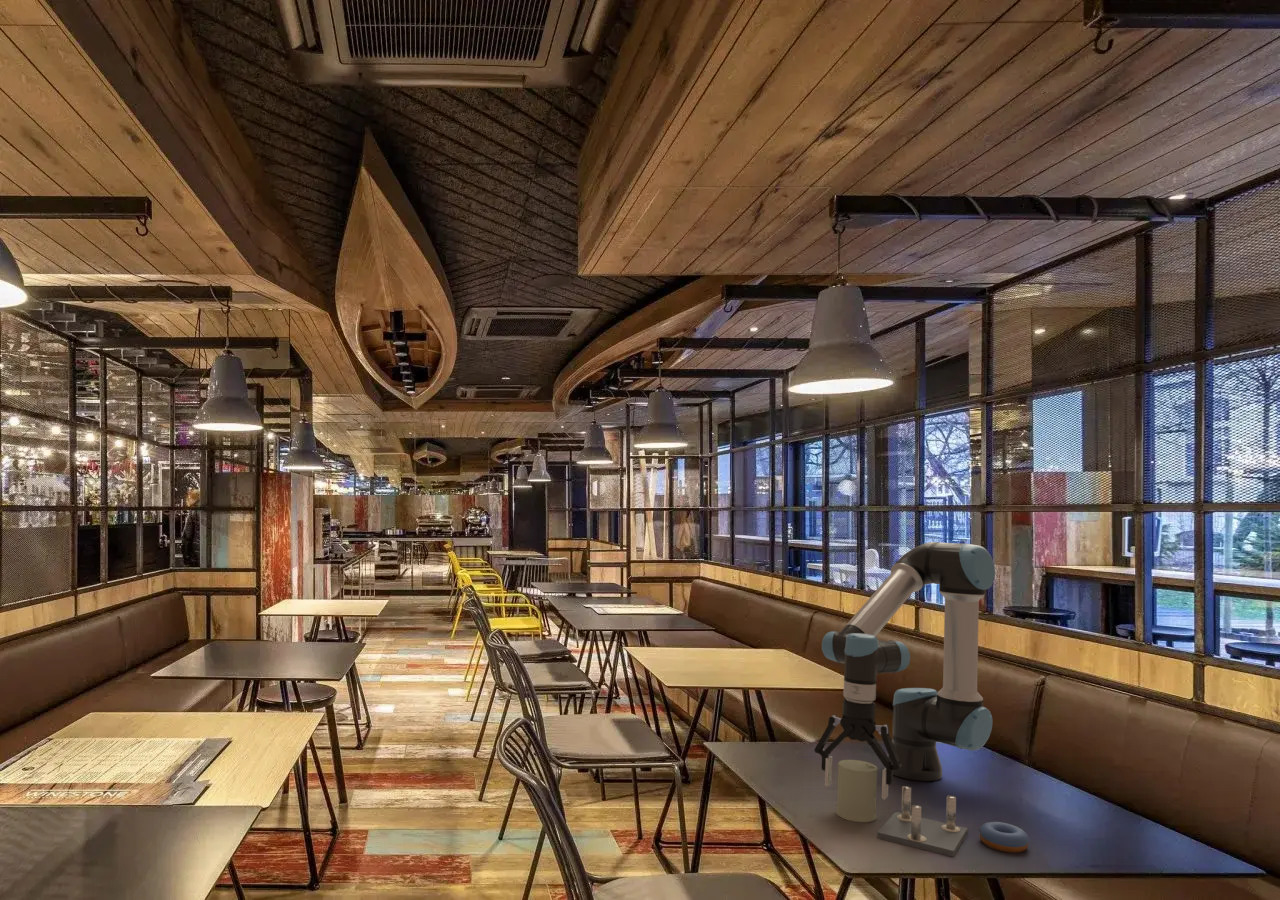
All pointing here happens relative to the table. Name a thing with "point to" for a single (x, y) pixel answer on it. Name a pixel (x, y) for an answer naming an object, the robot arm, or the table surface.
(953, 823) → the pins
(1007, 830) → the doughnut
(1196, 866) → the table surface
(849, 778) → the can
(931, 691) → the robot arm
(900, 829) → the board
